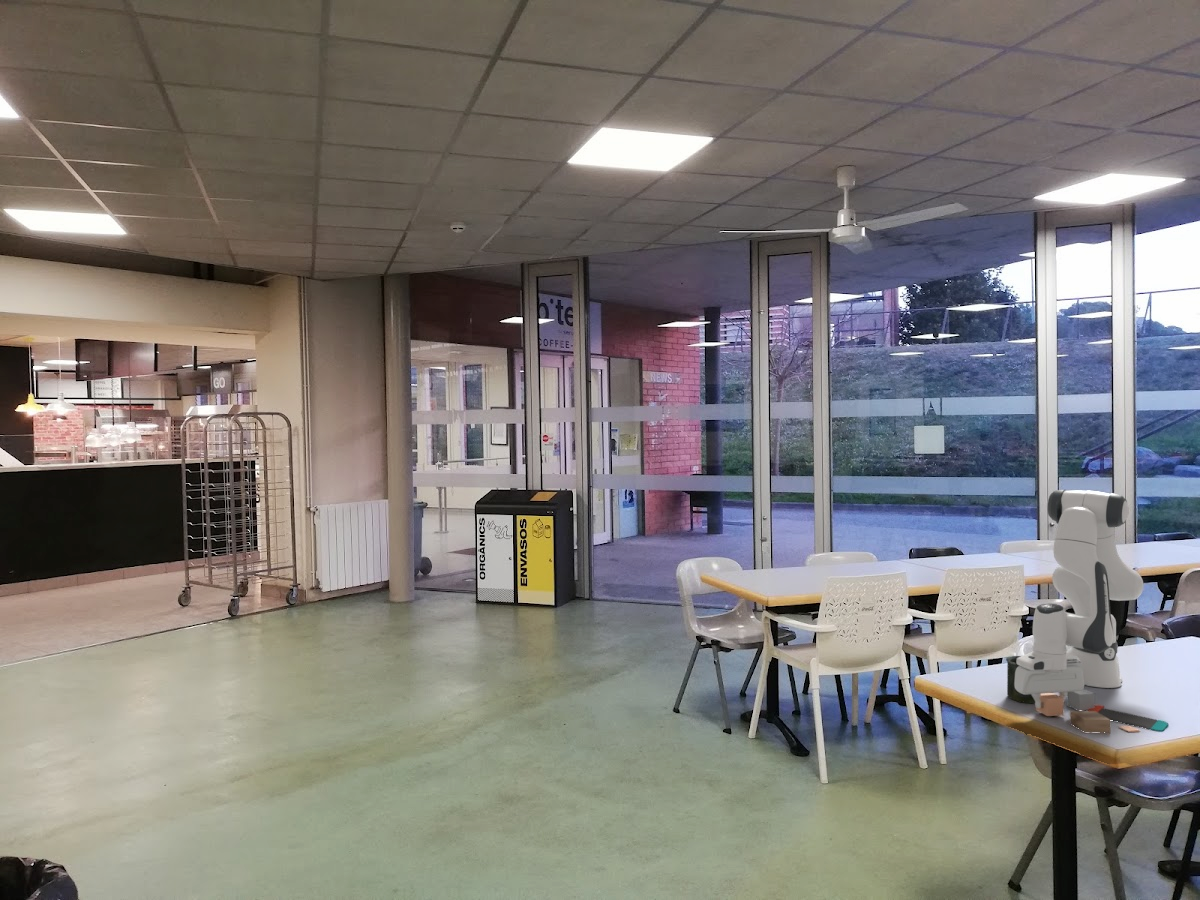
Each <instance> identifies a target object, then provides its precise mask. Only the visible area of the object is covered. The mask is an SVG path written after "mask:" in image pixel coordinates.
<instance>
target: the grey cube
mask: <svg viewBox="0 0 1200 900" xmlns="http://www.w3.org/2000/svg"><path fill="white" fill-rule="evenodd" d="M1095 697H1096V696H1095V693H1094V692H1093V691H1090V690H1087V689H1085V688H1083V690H1082V691H1074V692H1068V696H1067V697H1066V699H1067V702H1066V703H1067V704H1066V705H1068V706H1067V707H1070V706H1071V707H1070V708H1072V707H1073V708H1072V709H1074V708H1075V709H1074V710H1076V709H1077V710H1076V711H1078V710H1089V709H1091V708H1095V705H1096V704H1095V700H1096V699H1095Z"/></svg>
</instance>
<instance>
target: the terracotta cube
mask: <svg viewBox="0 0 1200 900" xmlns="http://www.w3.org/2000/svg"><path fill="white" fill-rule="evenodd" d="M1039 699H1040V701H1041V702H1044V705H1043V706H1044V708H1037V707H1036V706H1035V710H1036V711H1037V712H1039V713H1041V714H1042V715H1044V716H1046V717H1053V716H1057V717H1058V716H1064V706H1063V698H1062V697H1060V696H1059V694H1058V695H1057V694H1056V693H1042V694H1041V697H1039Z"/></svg>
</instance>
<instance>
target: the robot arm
mask: <svg viewBox="0 0 1200 900" xmlns="http://www.w3.org/2000/svg"><path fill="white" fill-rule="evenodd" d="M1046 510H1047V515H1048V516H1049V518H1050V519H1051V520H1053V521H1054V522H1055V523H1056V524H1057V526H1056V531H1055V537H1054V541H1053V557H1054V560H1055V561H1056V562H1057V564H1058V565H1057V567H1056V568H1055V569H1053V573H1052V576H1051V579H1052V580H1051V581H1052V584H1053V586H1054V589H1056V591H1057V592H1058V593H1059V594H1061V595H1062V596H1064V598H1066V600H1067V601H1068V602H1069V603H1070V605H1071V606H1072V609H1073V611H1074V613H1071V612H1067V611H1066V610H1065V608H1064V606H1062V605H1060V604H1057V603H1050V602H1049V603H1041V604H1039V605H1037V606H1036V607H1035V610H1034V613H1033V620H1032V637H1033V641H1034V642H1033V645H1032V651H1030V652H1028V653H1026V654H1024V655H1020V656H1021V657H1018V658H1017V660H1016V663H1017V664H1018V665H1019V666H1018V667H1017V669H1016V671H1015V689H1016V690H1017V691H1018V692H1019V693H1021V694H1024V695H1027V694H1032V697H1033V698H1034V700H1035V703H1034V706H1035V708H1036V707H1037V708H1044V706H1043V705H1044V702H1041V701H1040V699H1039V697H1041V694H1042V693H1053V694H1056V693H1057V694H1058V696H1060V697H1062V698H1063V707H1064V706H1065V703H1064V702H1065V701H1066V699H1067V696H1068V692H1074V691H1082V690H1083V689H1085V686H1088V687H1093V688H1094V687H1095V688H1107V689H1109V688H1111V689H1113V688H1114V689H1115V688H1120V687H1121V686H1122V682H1123V678H1122V677H1121V671H1120V664H1119V663H1120V662H1119V661H1120V660H1119V658H1118V655H1117V654H1118V648H1119V646H1118V641H1117V621H1116V618H1115V617H1114V615H1113V614H1111V601H1118V602H1120V601H1132V600H1133V601H1134V600H1137V599H1138V598H1139V597H1140V596H1141V595H1142V593H1143V591H1144V580H1143V578H1142V576H1141V575H1140V573H1139V572H1138V571H1136V570H1135V569H1133V568H1132V567H1130V566H1129V565H1127V564H1126V563H1125V562H1124V561H1123V559H1122V558H1121V557H1120V555H1119V554H1118V550H1117V544H1116V533H1115V532H1116V528H1118V527H1121V526H1122V525H1124V524H1125V523H1126V520H1127V519H1128V516H1129V511H1130V507H1129V505H1128V501H1127V499H1126V498H1125V497H1124V496H1123V495H1121V494H1117V493H1114V492H1111V493H1109V492H1102V491H1096V490H1072V489H1071V490H1066V489H1057V490H1053V492H1051V493H1050V495H1049V497H1048V499H1047V503H1046ZM1110 600H1111V601H1110ZM1067 647H1070V648H1068V649H1067Z"/></svg>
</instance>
